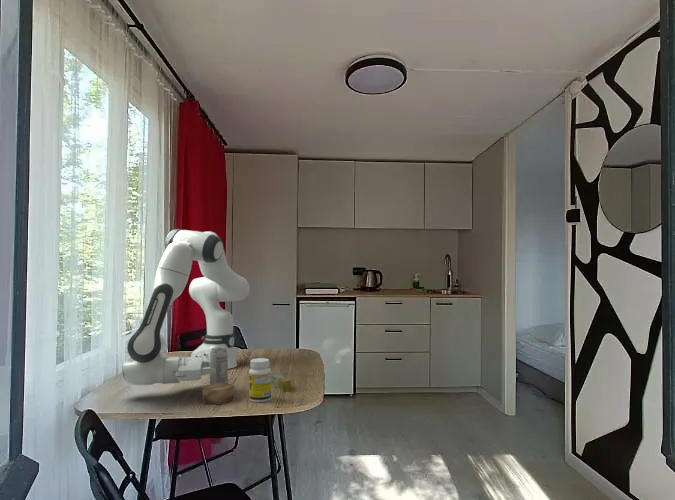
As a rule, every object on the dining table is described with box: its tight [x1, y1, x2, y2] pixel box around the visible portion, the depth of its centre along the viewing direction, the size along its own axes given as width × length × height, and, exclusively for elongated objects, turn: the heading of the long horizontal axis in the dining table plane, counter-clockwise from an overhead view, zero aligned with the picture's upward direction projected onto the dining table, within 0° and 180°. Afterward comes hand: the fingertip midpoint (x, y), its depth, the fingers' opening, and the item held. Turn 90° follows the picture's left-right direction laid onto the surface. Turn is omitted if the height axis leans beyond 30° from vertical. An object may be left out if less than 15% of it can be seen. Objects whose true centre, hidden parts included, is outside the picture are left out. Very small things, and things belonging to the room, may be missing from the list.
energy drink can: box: [209, 347, 229, 385], centre depth 165 cm, size 6×6×15 cm
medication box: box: [271, 373, 292, 393], centre depth 168 cm, size 12×3×4 cm, turn 29°
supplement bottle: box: [248, 357, 273, 403], centre depth 154 cm, size 7×7×13 cm
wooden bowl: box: [202, 382, 235, 405], centre depth 155 cm, size 10×10×4 cm
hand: (215, 367), depth 165 cm, fingers open, 8 cm apart
